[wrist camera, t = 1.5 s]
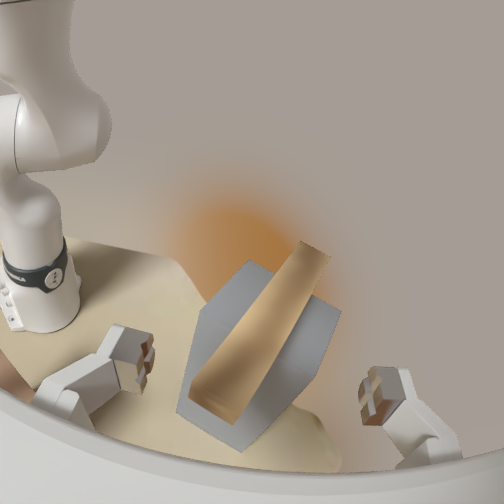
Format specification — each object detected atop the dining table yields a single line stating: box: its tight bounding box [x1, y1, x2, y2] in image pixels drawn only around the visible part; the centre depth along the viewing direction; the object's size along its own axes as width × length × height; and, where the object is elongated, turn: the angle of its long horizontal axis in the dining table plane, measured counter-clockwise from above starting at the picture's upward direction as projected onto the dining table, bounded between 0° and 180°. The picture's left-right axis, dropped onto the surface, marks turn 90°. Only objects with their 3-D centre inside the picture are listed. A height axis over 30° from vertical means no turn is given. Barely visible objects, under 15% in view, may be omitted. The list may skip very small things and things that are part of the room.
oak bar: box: [187, 241, 330, 426], centre depth 29 cm, size 4×22×3 cm, turn 153°
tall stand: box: [176, 260, 341, 452], centre depth 39 cm, size 12×10×26 cm
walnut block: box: [0, 349, 36, 403], centre depth 27 cm, size 12×10×15 cm
